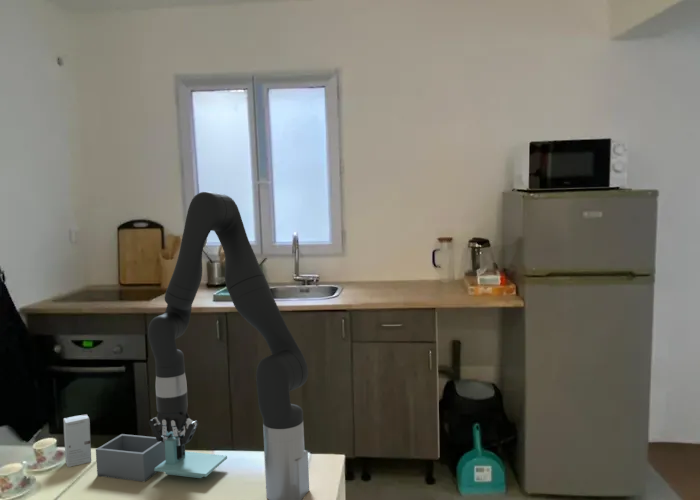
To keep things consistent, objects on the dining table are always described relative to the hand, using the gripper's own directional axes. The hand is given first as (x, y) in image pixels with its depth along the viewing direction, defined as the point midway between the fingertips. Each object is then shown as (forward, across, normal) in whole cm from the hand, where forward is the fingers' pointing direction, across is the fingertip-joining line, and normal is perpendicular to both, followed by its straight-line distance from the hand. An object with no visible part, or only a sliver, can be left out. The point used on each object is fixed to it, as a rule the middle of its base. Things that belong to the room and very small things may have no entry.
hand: (175, 457), depth 147 cm
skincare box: (+4, +30, 0) cm, 30 cm away
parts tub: (+4, +12, +1) cm, 13 cm away
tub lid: (+3, -5, 0) cm, 5 cm away
